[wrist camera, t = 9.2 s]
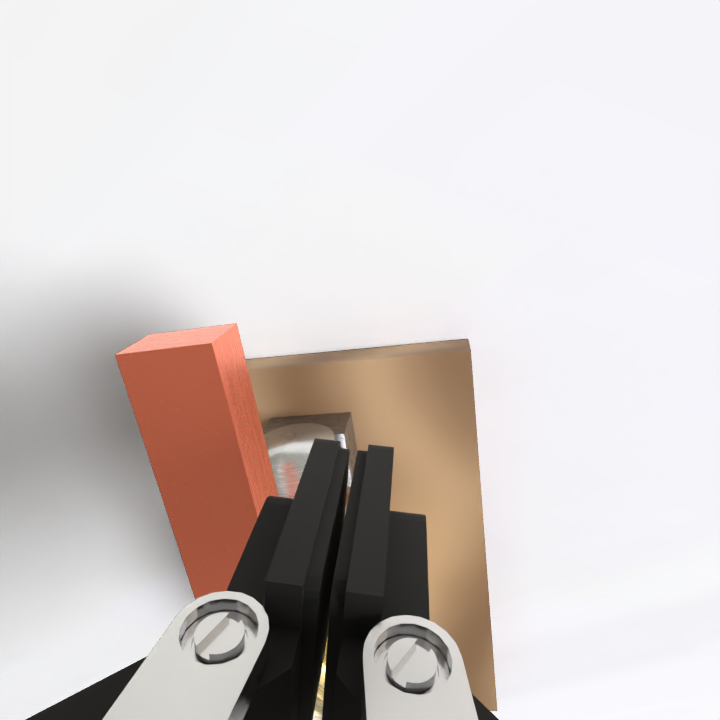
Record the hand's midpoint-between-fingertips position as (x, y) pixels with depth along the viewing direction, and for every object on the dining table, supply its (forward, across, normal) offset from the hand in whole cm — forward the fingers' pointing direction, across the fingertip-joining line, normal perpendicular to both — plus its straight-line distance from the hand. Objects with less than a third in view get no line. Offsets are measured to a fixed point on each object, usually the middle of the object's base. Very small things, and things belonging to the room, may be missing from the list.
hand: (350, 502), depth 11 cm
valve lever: (+3, +3, +5) cm, 7 cm away
